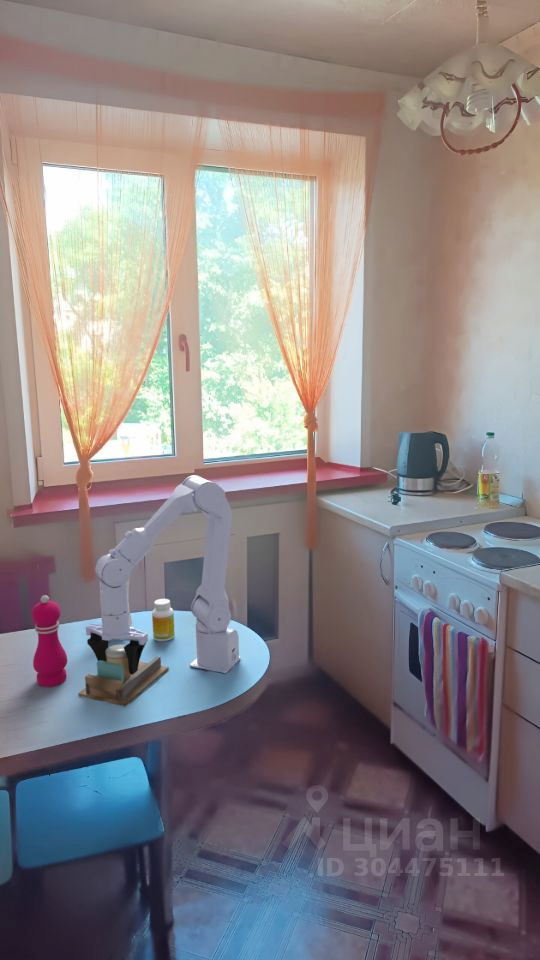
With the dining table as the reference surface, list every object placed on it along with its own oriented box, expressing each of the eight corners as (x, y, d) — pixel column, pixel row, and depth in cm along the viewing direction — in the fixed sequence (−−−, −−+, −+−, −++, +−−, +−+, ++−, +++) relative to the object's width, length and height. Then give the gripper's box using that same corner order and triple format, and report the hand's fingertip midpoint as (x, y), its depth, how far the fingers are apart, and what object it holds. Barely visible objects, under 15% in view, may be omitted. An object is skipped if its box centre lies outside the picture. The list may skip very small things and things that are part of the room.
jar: (135, 680, 143) (133, 646, 141) (122, 691, 138) (120, 656, 137) (116, 676, 145) (114, 643, 143) (103, 687, 140) (100, 652, 139)
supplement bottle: (172, 641, 163) (171, 605, 161) (151, 642, 163) (149, 605, 161) (176, 632, 168) (174, 597, 167) (155, 632, 169) (153, 597, 167)
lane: (168, 669, 149) (167, 651, 148) (125, 706, 134) (124, 686, 133) (124, 660, 153) (123, 643, 153) (78, 695, 138) (76, 676, 137)
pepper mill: (75, 675, 147) (68, 591, 143) (55, 690, 140) (47, 603, 136) (48, 670, 149) (41, 588, 146) (27, 685, 143) (19, 599, 139)
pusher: (124, 690, 138) (123, 664, 137) (122, 693, 137) (120, 666, 136) (101, 685, 140) (99, 660, 139) (98, 688, 140) (96, 662, 138)
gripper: (75, 612, 137) (79, 672, 140) (133, 622, 132) (136, 683, 135) (95, 601, 144) (99, 657, 146) (151, 609, 138) (155, 668, 141)
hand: (118, 669), depth 141 cm, fingers open, 7 cm apart
